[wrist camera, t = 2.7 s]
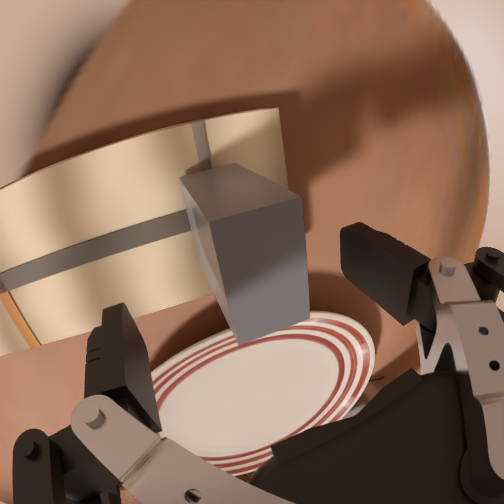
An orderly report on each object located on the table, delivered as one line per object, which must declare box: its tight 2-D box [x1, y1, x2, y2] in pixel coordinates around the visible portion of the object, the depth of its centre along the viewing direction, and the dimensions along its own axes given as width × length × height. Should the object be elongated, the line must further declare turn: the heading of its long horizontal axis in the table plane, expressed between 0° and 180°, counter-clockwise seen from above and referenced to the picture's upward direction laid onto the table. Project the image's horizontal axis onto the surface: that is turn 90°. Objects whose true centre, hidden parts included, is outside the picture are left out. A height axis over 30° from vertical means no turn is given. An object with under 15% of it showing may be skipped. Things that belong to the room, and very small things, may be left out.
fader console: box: [0, 108, 289, 356], centre depth 16 cm, size 23×10×3 cm, turn 99°
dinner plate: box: [151, 311, 375, 476], centre depth 28 cm, size 27×27×3 cm
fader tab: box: [179, 163, 310, 345], centre depth 13 cm, size 3×5×7 cm, turn 9°
